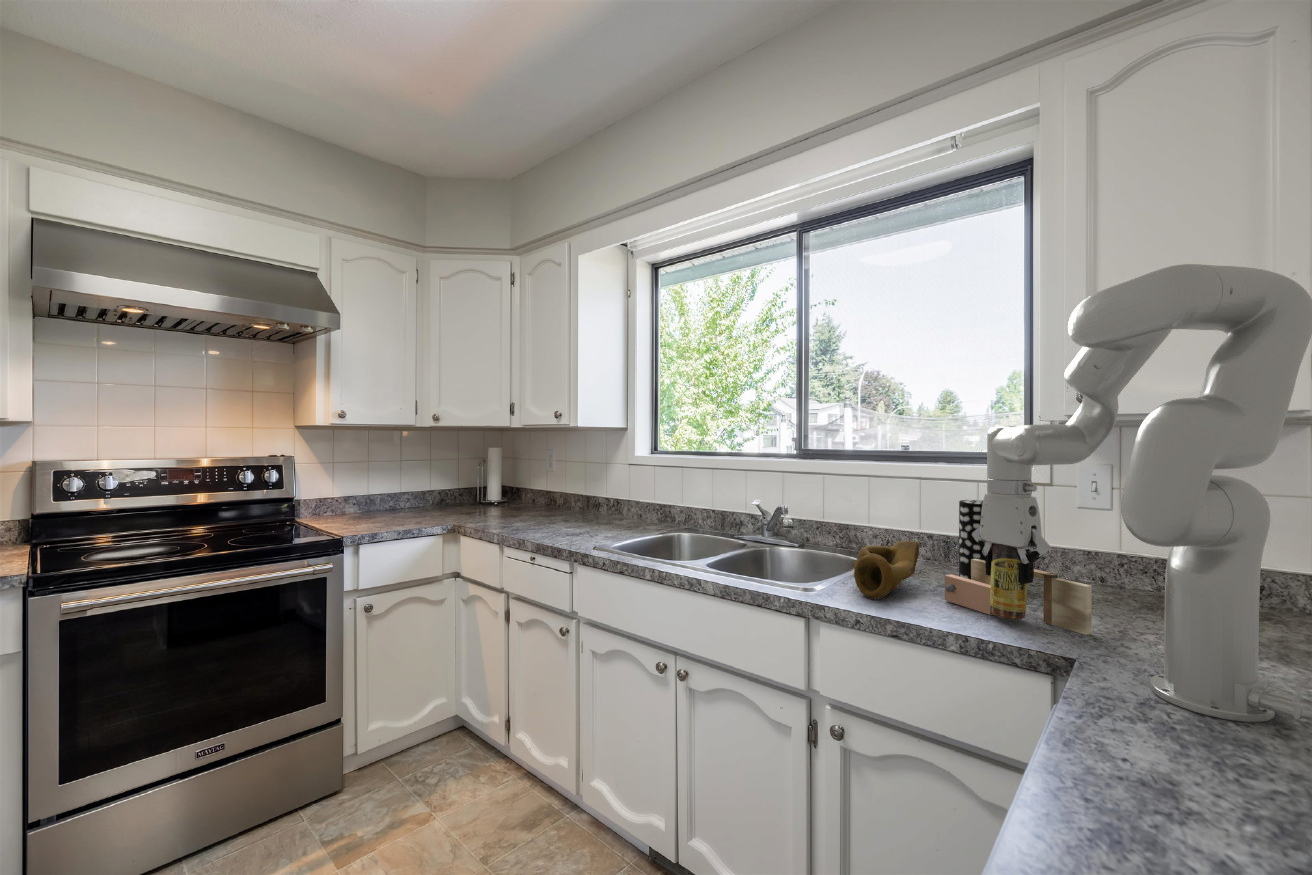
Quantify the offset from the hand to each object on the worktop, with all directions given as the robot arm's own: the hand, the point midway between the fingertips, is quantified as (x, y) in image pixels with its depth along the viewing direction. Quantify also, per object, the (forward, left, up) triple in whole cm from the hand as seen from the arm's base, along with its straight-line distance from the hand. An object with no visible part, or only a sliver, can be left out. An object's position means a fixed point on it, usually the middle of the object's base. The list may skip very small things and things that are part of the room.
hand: (1008, 577), depth 115 cm
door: (+9, 0, -9) cm, 12 cm away
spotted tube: (+22, -19, -9) cm, 30 cm away
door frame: (+1, -6, -9) cm, 11 cm away
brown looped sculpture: (+28, +4, -9) cm, 30 cm away
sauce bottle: (0, 0, -8) cm, 8 cm away
